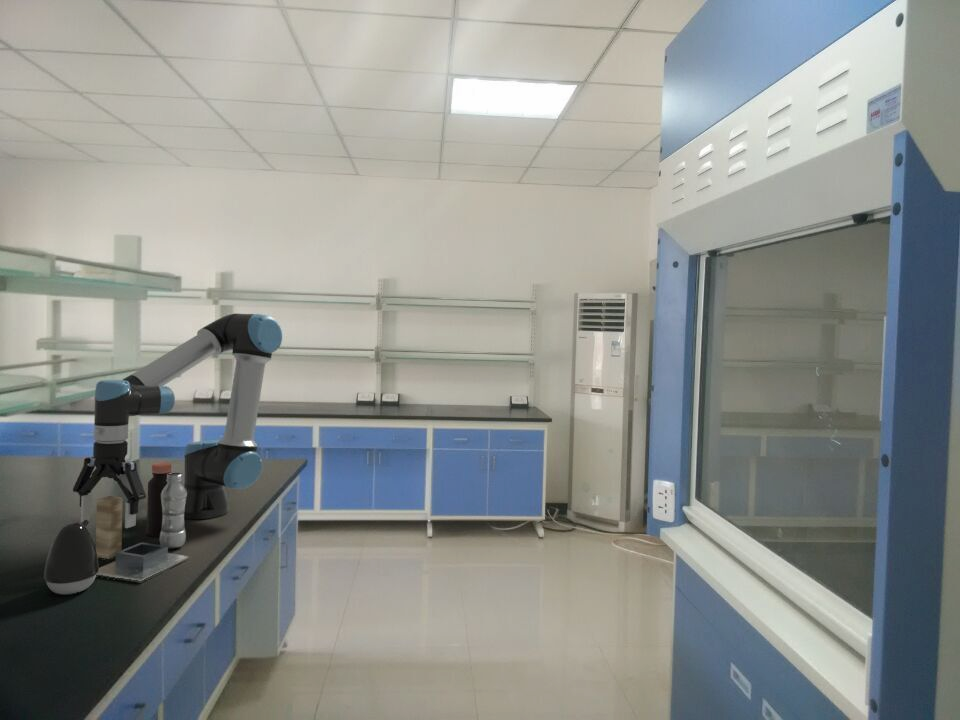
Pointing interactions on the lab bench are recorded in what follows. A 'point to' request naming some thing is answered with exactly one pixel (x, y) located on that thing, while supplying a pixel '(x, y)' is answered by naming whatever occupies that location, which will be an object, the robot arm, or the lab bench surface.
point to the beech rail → (108, 526)
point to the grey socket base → (140, 562)
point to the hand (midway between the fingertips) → (108, 523)
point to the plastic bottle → (173, 512)
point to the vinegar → (156, 497)
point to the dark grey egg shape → (71, 560)
